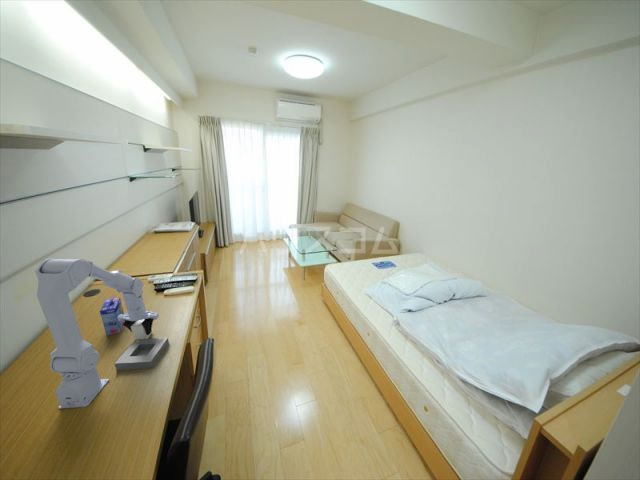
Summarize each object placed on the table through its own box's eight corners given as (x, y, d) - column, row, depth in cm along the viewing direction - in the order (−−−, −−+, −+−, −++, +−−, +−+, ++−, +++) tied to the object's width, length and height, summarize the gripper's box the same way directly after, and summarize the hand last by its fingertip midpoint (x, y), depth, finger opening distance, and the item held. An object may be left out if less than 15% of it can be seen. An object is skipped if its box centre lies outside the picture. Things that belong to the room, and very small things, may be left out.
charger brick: (146, 340, 100) (142, 326, 97) (134, 340, 99) (130, 326, 97) (152, 332, 104) (149, 318, 102) (141, 332, 104) (138, 319, 102)
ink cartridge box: (122, 332, 104) (114, 303, 99) (106, 336, 101) (96, 306, 97) (126, 319, 112) (118, 291, 108) (111, 323, 110) (102, 295, 105)
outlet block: (152, 368, 87) (150, 361, 86) (116, 370, 86) (114, 363, 85) (169, 343, 98) (167, 337, 97) (137, 345, 97) (135, 338, 96)
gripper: (159, 299, 101) (166, 326, 106) (122, 300, 100) (130, 328, 104) (150, 309, 95) (157, 337, 99) (110, 310, 93) (119, 339, 98)
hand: (142, 333), depth 101 cm, fingers closed on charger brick, 4 cm apart
